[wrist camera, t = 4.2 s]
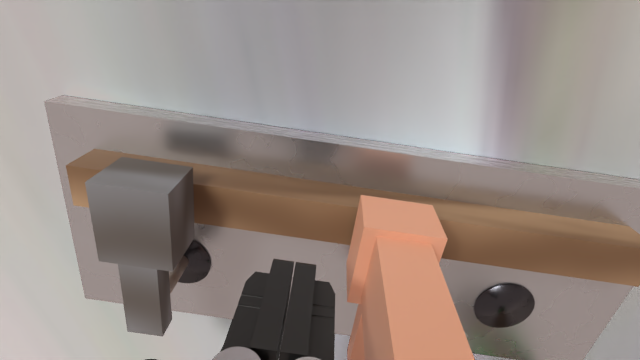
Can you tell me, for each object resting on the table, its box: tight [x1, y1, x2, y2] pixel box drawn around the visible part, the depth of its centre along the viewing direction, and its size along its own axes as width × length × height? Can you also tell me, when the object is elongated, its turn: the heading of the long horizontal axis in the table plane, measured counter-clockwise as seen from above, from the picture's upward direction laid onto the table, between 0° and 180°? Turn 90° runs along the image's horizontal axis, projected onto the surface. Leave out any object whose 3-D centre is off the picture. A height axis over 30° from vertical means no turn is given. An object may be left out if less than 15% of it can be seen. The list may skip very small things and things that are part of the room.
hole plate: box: [44, 95, 640, 360], centre depth 20 cm, size 12×30×1 cm, turn 82°
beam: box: [66, 149, 640, 336], centre depth 17 cm, size 8×26×4 cm, turn 82°
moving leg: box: [346, 195, 475, 360], centre depth 14 cm, size 8×3×9 cm, turn 172°
